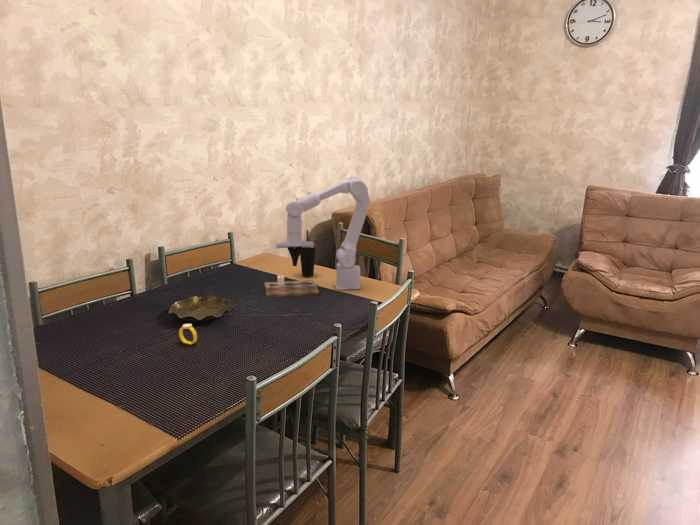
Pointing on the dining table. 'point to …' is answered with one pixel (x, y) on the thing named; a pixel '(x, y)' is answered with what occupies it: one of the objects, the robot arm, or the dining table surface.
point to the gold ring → (189, 326)
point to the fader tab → (280, 280)
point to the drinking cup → (308, 260)
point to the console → (291, 288)
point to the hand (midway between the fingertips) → (294, 265)
